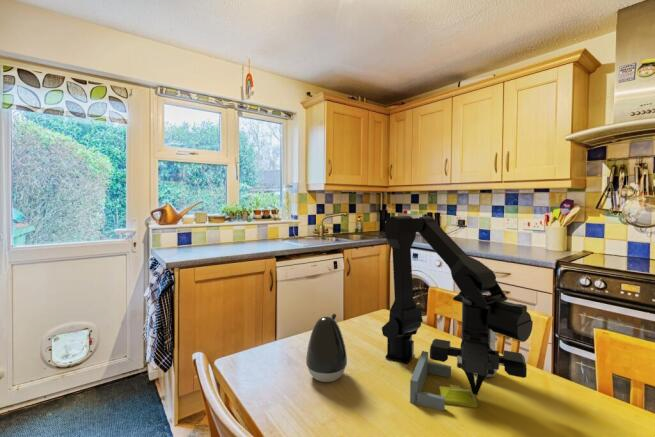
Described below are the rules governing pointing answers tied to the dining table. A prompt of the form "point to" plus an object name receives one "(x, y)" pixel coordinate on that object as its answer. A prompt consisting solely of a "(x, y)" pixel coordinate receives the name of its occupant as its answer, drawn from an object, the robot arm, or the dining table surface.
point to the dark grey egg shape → (326, 350)
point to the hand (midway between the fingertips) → (475, 394)
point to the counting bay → (419, 379)
